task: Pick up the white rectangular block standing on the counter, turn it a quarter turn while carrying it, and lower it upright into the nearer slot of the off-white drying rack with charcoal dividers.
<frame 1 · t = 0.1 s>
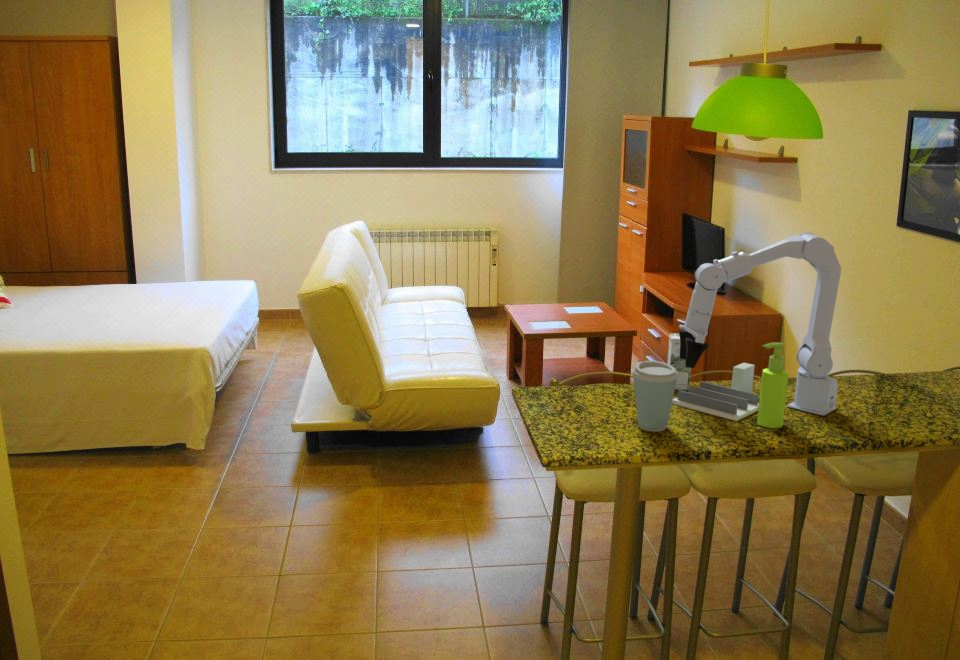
hand: (686, 363, 226), 11 cm above the breakfast bar, tool pointing down, fingers open, 7 cm apart
disposable coffee cup: (651, 428, 210), on the breakfast bar
soap dispenser: (768, 424, 215), on the breakfast bar
white rectangular block: (741, 395, 236), on the breakfast bar
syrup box: (677, 388, 241), on the breakfast bar
dish rack: (717, 405, 227), on the breakfast bar
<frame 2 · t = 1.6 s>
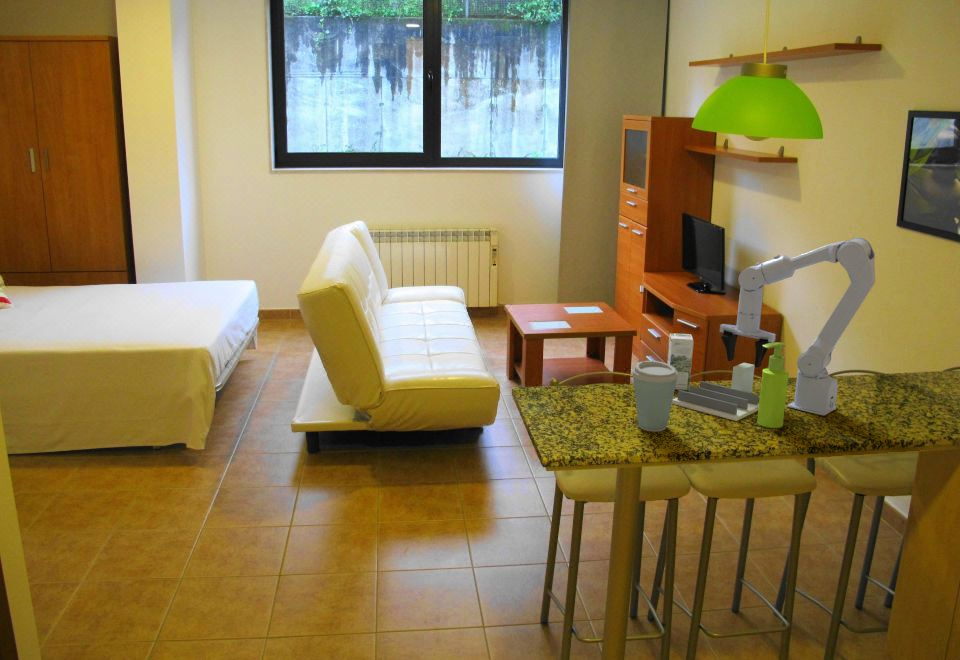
hand: (744, 363, 234), 9 cm above the breakfast bar, tool pointing down, fingers open, 7 cm apart
nothing on the breakfast bar moved.
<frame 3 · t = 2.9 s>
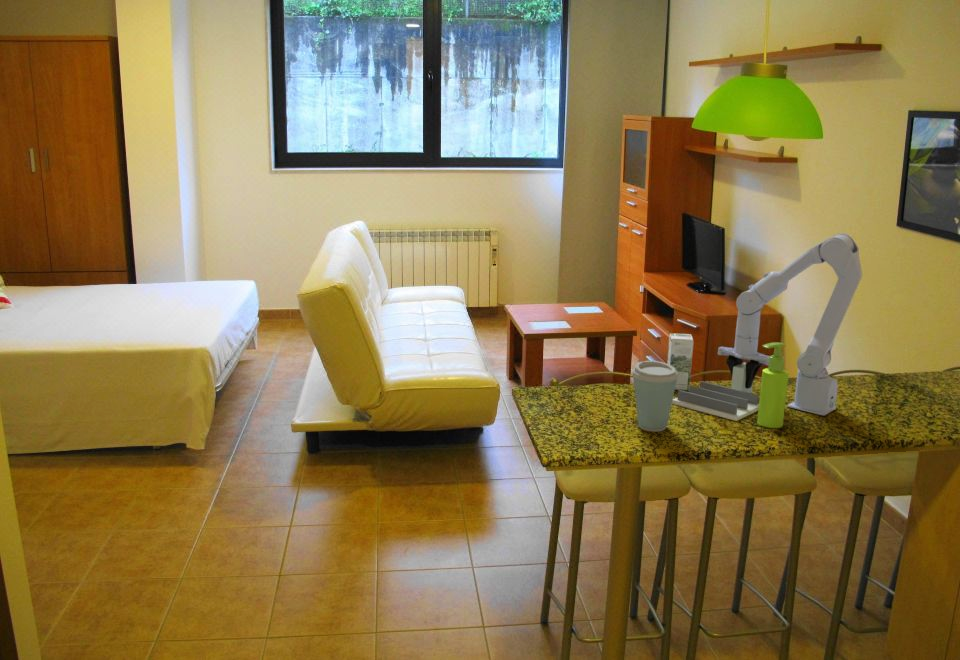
hand: (741, 386, 236), 2 cm above the breakfast bar, tool pointing down, fingers closed on white rectangular block, 3 cm apart
white rectangular block: (741, 394, 236), on the breakfast bar, touching gripper
everything else where it was.
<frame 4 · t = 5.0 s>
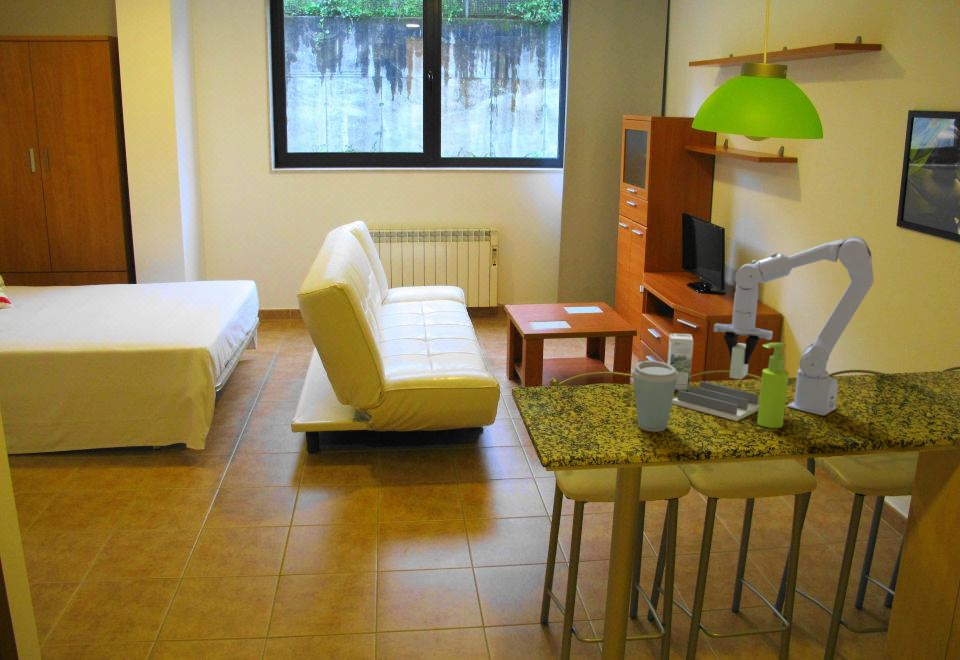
hand: (739, 362, 232), 9 cm above the breakfast bar, tool pointing down, fingers closed on white rectangular block, 3 cm apart
white rectangular block: (738, 375, 233), point 6 cm above the breakfast bar, touching gripper
everything else where it was.
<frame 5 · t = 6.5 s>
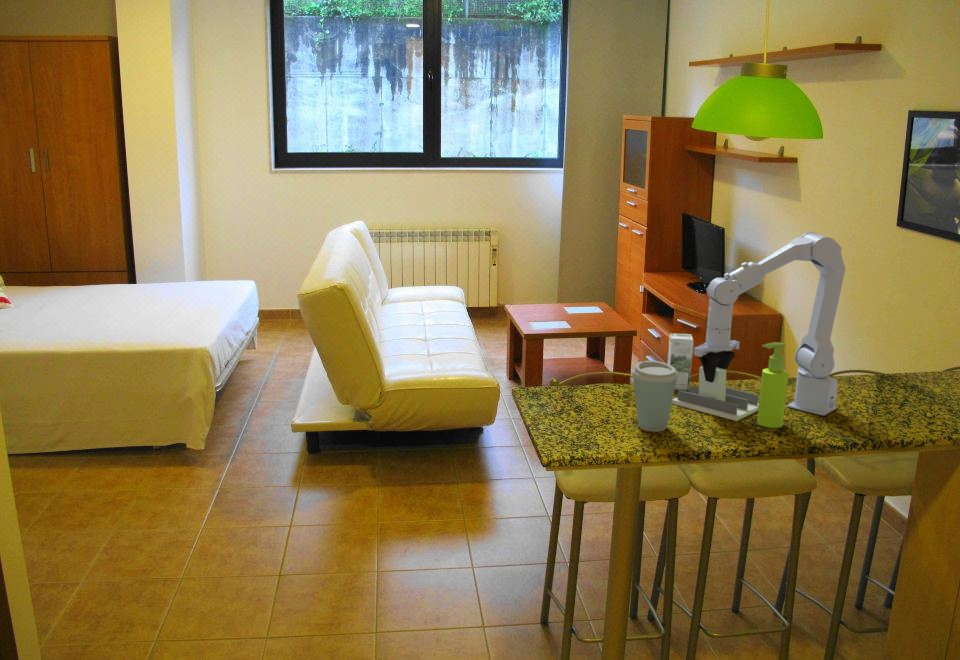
hand: (714, 380, 223), 7 cm above the breakfast bar, tool pointing down, fingers closed on white rectangular block, 3 cm apart
white rectangular block: (711, 399, 225), point 2 cm above the breakfast bar, touching gripper
everything else where it was.
when the fingers open (5 cm above the breakfast bar, at t = 7.3 s): white rectangular block stays where it is, resting on dish rack.
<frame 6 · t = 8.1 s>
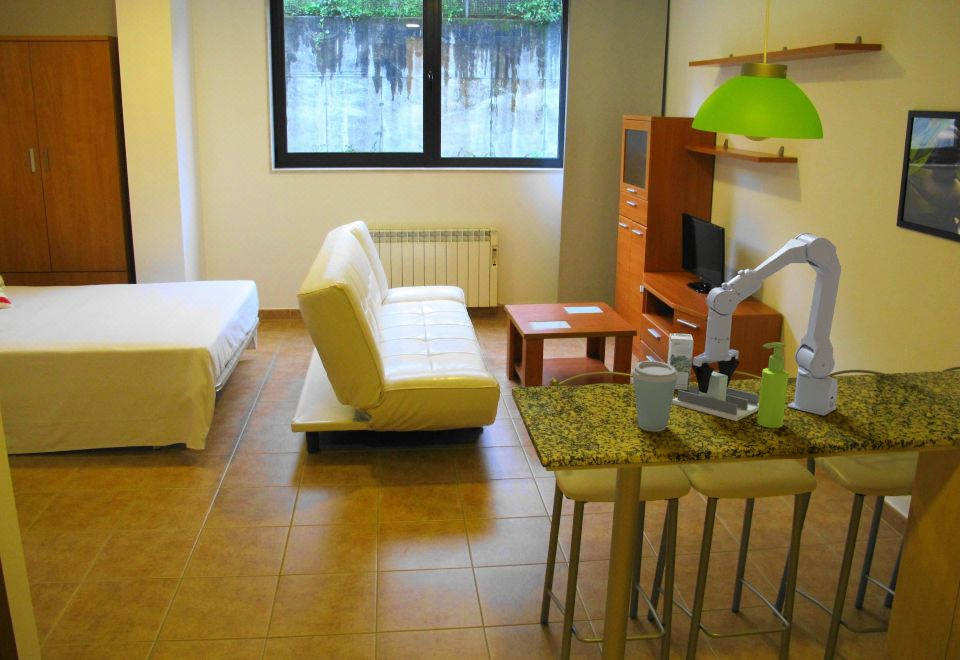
hand: (713, 389, 224), 5 cm above the breakfast bar, tool pointing down, fingers open, 7 cm apart
white rectangular block: (711, 404, 225), point 1 cm above the breakfast bar, touching dish rack
everything else where it was.
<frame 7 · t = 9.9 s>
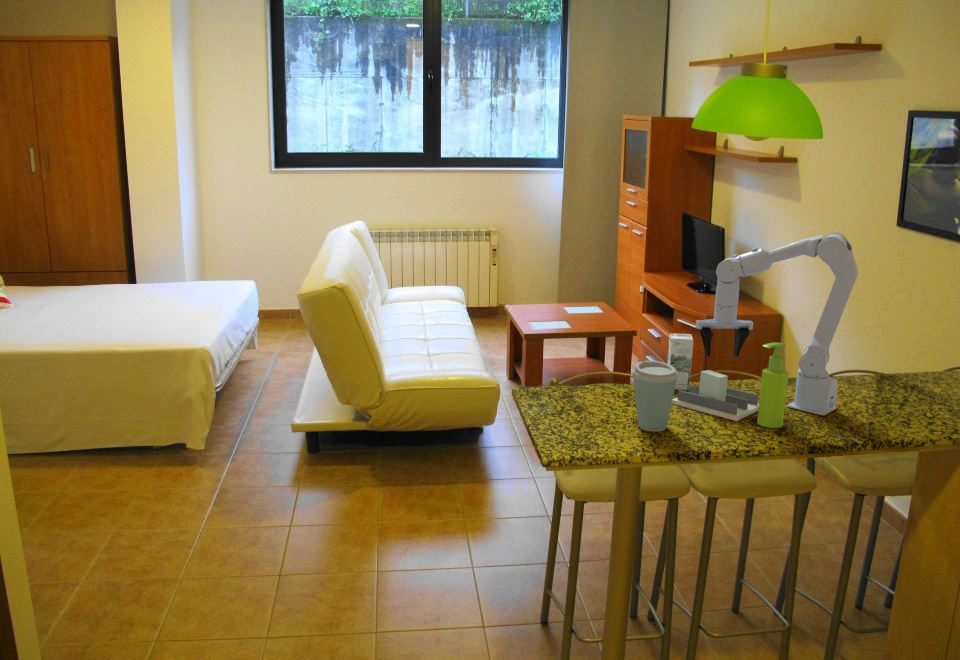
hand: (721, 355, 235), 10 cm above the breakfast bar, tool pointing down, fingers open, 7 cm apart
nothing on the breakfast bar moved.
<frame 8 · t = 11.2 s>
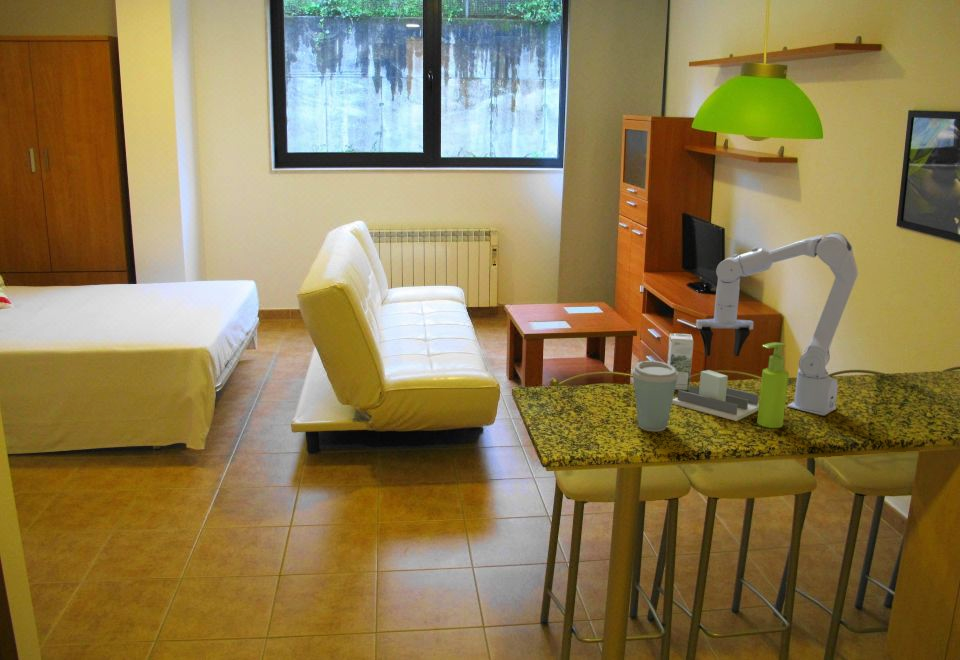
hand: (721, 355, 235), 10 cm above the breakfast bar, tool pointing down, fingers open, 7 cm apart
nothing on the breakfast bar moved.
at the end: white rectangular block inside the target area on the dish rack (0.1 cm from its centre), point 1.0 cm above the dish rack's base; white rectangular block tilted 0°; the gripper is holding nothing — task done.
